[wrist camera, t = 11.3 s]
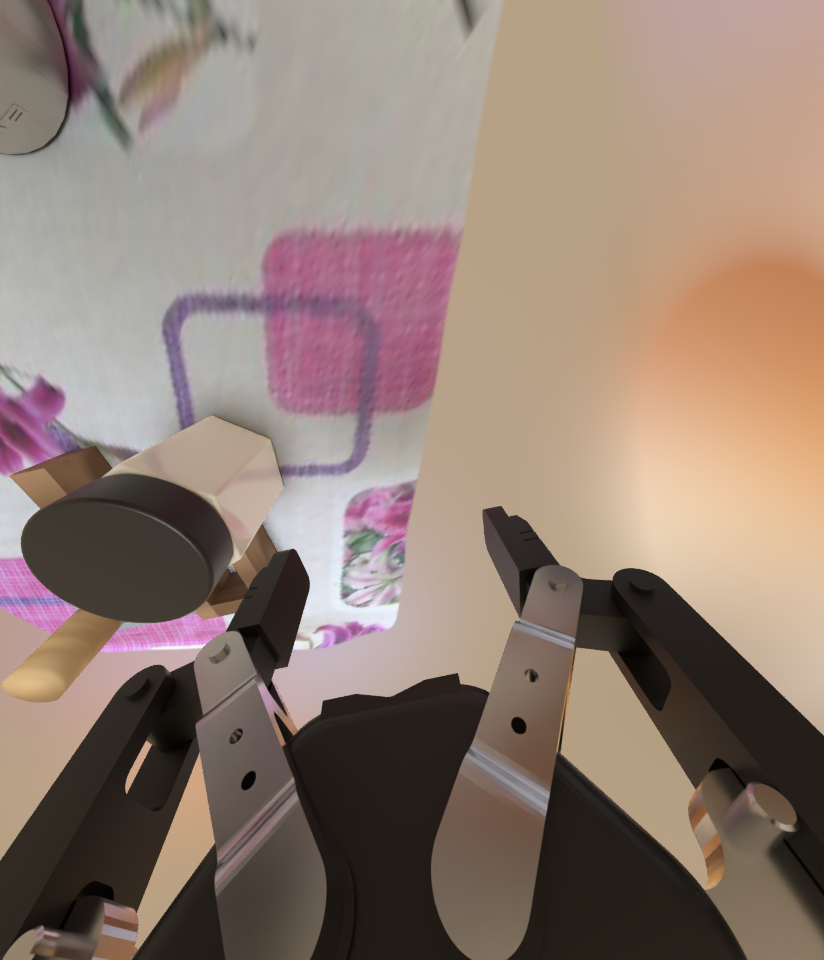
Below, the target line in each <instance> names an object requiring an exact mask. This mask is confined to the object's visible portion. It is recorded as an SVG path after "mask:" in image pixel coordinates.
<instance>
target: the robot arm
mask: <svg viewBox="0 0 824 960" xmlns="http://www.w3.org/2000/svg"><path fill="white" fill-rule="evenodd" d="M67 101H68V69H67V64H66V59H65V54H64V49H63V44H62V39H61V36H60V33H59V31H58V28H57V25H56V22H55V19H54V16H53V13H52V10H51V7H50V5H49V3H48V1H47V0H0V153H4V154H20V153H28V152H31V151H33V150H36V149H38V148H40V147H43V146H44V145H45V144H46V143H47V142H48V141H49V140H50V139H51V138H53V137H54V136H55V135H56V133H57V131H58V129H59V127H60V125H61V123H62V121H63V119H64V116H65V111H66V106H67ZM483 524H484V535H485V542H486V546H487V550H488V552H489V554H490V557H491V559H492V561H493V563H494V565H495V567H496V569H497V571H498V573H499V576H500V578H501V580H502V582H503V584H504V586H505V588H506V590H507V592H508V594H509V596H510V599H511V601H512V603H513V605H514V607H515V609H516V611H517V613H518V616H519V618H520V620H519V622H517V621H516V622H515V623H514V624H513V626H512V629H511V632H510V635H509V638H508V641H507V644H506V646H505V649H504V652H503V656H502V658H501V661H500V664H499V667H498V670H497V673H496V676H495V679H494V682H493V685H492V687H491V690H490V693H489V692H487V691H486V690H483V689H480V688H478V687H474V686H470V685H464V684H460V680H459V676H458V673H456V674H451V675H446V676H441V677H437V678H432V679H427V680H424V681H422V682H420V683H418V684H416V685H414V686H412V687H410V688H408V689H406V690H404V691H402V692H400V693H398V694H396V695H394V696H392V697H382V696H371V695H360V694H354V695H349V696H344V697H340V698H335V699H330V700H324V701H323V704H322V711H321V714H320V715H318V716H317V717H315V718H314V719H312V720H311V721H309V722H308V723H307V724H305V726H303V727H302V728H301V729H300V730H299V731H298V730H297V728H296V727H295V725H294V723H293V721H292V719H291V717H290V715H289V712H288V710H287V708H286V706H285V703H284V701H283V699H282V697H281V695H280V693H279V690H278V688H277V686H276V684H275V682H274V680H273V679H272V676H273V673H274V670H275V669H279V668H284V667H287V666H288V663H289V660H290V656H291V653H292V649H293V646H294V642H295V639H296V635H297V632H298V628H299V625H300V621H301V617H302V614H303V610H304V607H305V603H306V600H307V596H308V593H309V588H310V581H309V576H308V574H307V572H306V570H305V568H304V566H303V564H302V561H301V559H300V557H299V555H298V553H297V551H296V550H295V549H290V550H285V551H281V552H276V553H274V554H273V556H272V558H271V560H270V562H269V564H268V566H267V567H264V568H263V569H262V570H261V571H260V572H259V573H258V574H257V575H256V576H255V577H254V579H253V581H252V582H251V584H250V586H249V588H248V589H249V590H248V591H247V592H246V594H245V596H244V600H242V602H241V604H240V606H239V607H238V609H237V611H236V613H235V615H234V617H233V619H232V621H231V623H230V625H229V627H228V629H227V631H226V632H225V633H222V634H220V635H218V636H217V637H215V638H214V639H212V640H211V641H210V642H208V643H207V644H206V645H205V646H204V647H203V648H202V650H201V651H200V652H199V654H198V655H197V657H196V659H195V661H193V662H191V663H189V664H187V665H185V666H183V667H181V668H178V669H176V670H174V671H172V672H169V671H168V670H167V669H166V668H165V667H164V666H162V665H153V666H150V667H148V668H145V669H143V670H142V671H140V672H138V673H137V674H135V675H134V676H133V677H132V678H130V679H129V680H128V681H127V682H126V683H125V684H123V686H122V687H121V688H120V689H119V690H118V691H117V692H116V694H115V695H114V696H113V698H112V699H111V701H110V703H109V704H108V705H107V707H106V708H105V710H104V711H103V712H102V714H101V715H100V717H99V718H98V720H97V721H96V723H95V724H94V726H93V727H92V728H91V730H90V731H89V733H88V734H87V736H86V737H85V739H84V740H83V741H82V743H81V744H80V746H79V747H78V749H77V750H76V752H75V753H74V755H73V756H72V758H71V759H70V760H69V762H68V763H67V765H66V766H65V768H64V769H63V771H62V772H61V773H60V775H59V777H58V778H57V779H56V781H55V782H54V784H53V785H52V786H51V788H50V790H49V791H48V792H47V794H46V795H45V797H44V798H43V800H42V801H41V802H40V804H39V806H38V807H37V808H36V810H35V811H34V813H33V814H32V816H31V817H30V818H29V820H28V821H27V823H26V824H25V826H24V827H23V829H22V830H21V832H20V833H19V834H18V836H17V837H16V839H15V840H14V842H13V843H12V845H11V846H10V848H9V849H8V850H7V852H6V853H5V855H4V856H3V858H2V859H1V861H0V960H824V736H823V735H822V734H821V733H820V732H819V731H818V730H817V729H816V728H815V727H814V726H813V725H812V724H811V723H810V722H809V721H808V720H807V719H806V718H805V717H804V716H803V715H802V714H801V713H800V712H799V711H798V710H797V709H796V708H795V707H794V706H793V705H792V704H791V703H790V702H788V700H786V699H785V698H784V697H783V696H782V695H781V694H780V693H779V692H778V691H777V690H776V689H775V688H774V687H773V686H772V685H771V684H770V683H769V682H768V681H767V680H766V679H765V678H764V677H763V676H762V675H761V674H760V673H759V672H758V671H757V670H755V669H754V667H752V665H751V664H750V663H748V662H747V661H746V660H745V659H744V658H743V657H742V656H741V655H740V654H739V653H738V652H737V651H736V650H735V649H734V648H733V647H732V646H731V645H730V644H729V643H728V642H727V641H726V640H725V639H724V638H723V637H722V636H721V635H720V634H718V632H717V631H716V630H715V629H714V628H713V627H711V626H710V625H709V624H708V623H707V622H706V621H705V620H704V619H703V618H702V617H701V616H700V615H699V614H698V613H697V612H696V611H695V610H694V609H693V608H692V607H691V606H690V605H689V604H688V603H687V602H686V601H685V600H684V599H683V598H682V597H681V596H680V595H678V593H677V592H676V591H675V590H674V589H673V588H671V587H670V586H669V585H668V584H667V583H666V582H665V581H664V580H663V579H661V578H660V577H658V576H657V575H655V574H653V573H650V572H648V571H645V570H641V569H635V568H634V569H633V568H628V569H622V570H620V571H618V572H616V573H615V574H614V576H613V580H612V581H610V580H593V579H585V578H581V577H579V575H577V573H575V572H574V571H573V570H571V569H569V568H567V567H564V566H560V565H559V563H558V562H557V561H556V559H555V558H554V557H553V555H552V554H551V553H550V551H549V550H548V549H547V547H546V546H545V545H544V543H543V542H542V541H541V539H539V537H538V535H537V534H536V533H535V532H534V531H533V529H532V527H531V526H530V525H529V523H528V522H527V521H525V520H523V519H522V518H520V517H518V516H517V515H515V516H510V517H508V515H507V514H506V513H505V511H504V509H503V508H502V507H501V506H498V507H493V508H488V509H484V510H483ZM576 647H579V648H586V649H595V650H603V651H609V653H610V654H611V656H612V658H613V659H614V661H615V663H616V664H617V665H618V667H619V669H620V670H621V672H622V674H623V675H624V677H625V678H626V680H627V682H628V683H629V685H630V686H631V688H632V689H633V691H634V693H635V694H636V696H637V697H638V699H639V700H640V702H641V704H642V705H643V707H644V708H645V710H646V711H647V713H648V715H649V716H650V718H651V719H652V721H653V723H654V724H655V726H656V727H657V729H658V730H659V732H660V734H661V735H662V737H663V738H664V740H665V741H666V743H667V745H668V746H669V748H670V749H671V751H672V753H673V754H674V756H675V757H676V759H677V761H678V762H679V764H680V765H681V767H682V769H683V770H684V772H685V773H686V775H687V776H688V778H689V779H690V781H691V783H692V784H693V786H694V787H695V789H696V791H695V792H694V794H693V795H692V797H691V799H690V801H689V806H688V814H689V820H690V824H691V827H692V830H693V832H694V834H695V836H696V839H697V841H698V843H699V845H700V847H701V849H702V852H703V855H704V858H705V862H706V867H707V874H708V875H707V876H708V880H707V887H706V890H704V889H703V888H702V887H701V885H700V884H699V883H698V882H697V880H696V879H695V878H694V877H693V876H692V875H691V874H690V872H688V870H687V869H686V868H685V867H684V866H683V865H682V864H681V863H680V862H679V861H678V860H677V859H676V858H675V857H674V856H673V855H672V854H671V853H670V852H669V851H668V850H667V849H666V848H664V847H663V846H662V845H661V844H660V843H659V842H658V841H657V840H656V839H654V838H653V837H652V836H651V835H650V834H649V833H648V832H647V831H646V830H645V829H643V828H642V827H641V826H640V825H639V824H638V823H637V822H636V821H635V820H634V819H632V818H631V817H630V816H629V815H628V814H627V813H626V812H625V811H624V810H622V809H621V808H620V807H619V806H618V805H617V804H616V803H615V802H614V801H612V800H611V799H610V798H609V797H608V796H607V795H606V794H605V793H604V792H603V791H601V790H600V789H599V788H598V787H597V786H596V785H595V784H594V783H593V782H591V781H590V780H589V779H588V778H587V777H586V776H585V775H584V774H583V773H582V772H580V771H579V770H578V769H577V768H576V767H575V766H574V765H573V764H572V763H571V762H569V761H568V760H567V759H566V758H565V757H564V756H563V755H562V754H561V750H562V743H563V736H564V729H565V722H566V715H567V707H568V700H569V693H570V686H571V680H572V673H573V666H574V660H575V653H576ZM145 741H148V742H149V743H150V744H152V746H151V748H150V750H149V752H148V754H147V756H146V758H145V760H144V762H143V763H142V765H141V767H140V769H139V771H138V773H137V775H136V777H135V779H134V781H133V783H132V785H131V787H130V789H129V791H128V793H127V794H126V792H125V783H126V779H127V776H128V774H129V771H130V769H131V768H132V766H133V764H134V762H135V760H136V758H137V756H138V754H139V753H140V751H141V749H142V747H143V745H144V743H145ZM199 752H200V756H201V762H202V768H203V774H204V780H205V785H206V791H207V797H208V803H209V810H210V815H211V821H212V827H213V833H214V839H215V844H214V845H213V847H212V848H211V849H210V851H209V852H208V854H207V855H206V856H205V858H204V859H203V860H202V862H201V863H200V865H199V866H198V868H197V869H196V870H195V872H194V873H193V874H192V876H191V878H190V879H189V880H188V882H187V883H186V884H185V886H184V887H183V888H182V890H181V891H180V893H179V894H178V895H177V897H176V898H175V899H174V901H173V902H172V904H171V905H170V906H169V908H168V909H167V911H166V912H165V913H164V915H163V916H162V918H161V919H160V920H159V922H158V923H157V925H156V926H155V927H154V929H153V930H152V932H151V933H150V935H149V936H148V937H147V939H146V940H145V941H144V943H143V944H142V946H141V947H140V948H139V950H138V949H137V948H136V947H135V943H136V938H137V932H138V917H137V911H138V908H139V905H140V903H141V900H142V898H143V895H144V893H145V890H146V887H147V885H148V882H149V880H150V877H151V875H152V872H153V870H154V867H155V865H156V862H157V859H158V857H159V854H160V852H161V849H162V846H163V844H164V841H165V839H166V836H167V834H168V831H169V829H170V826H171V823H172V821H173V819H174V816H175V813H176V811H177V808H178V806H179V803H180V801H181V798H182V795H183V793H184V790H185V788H186V785H187V783H188V780H189V778H190V775H191V773H192V770H193V767H194V765H195V762H196V760H197V757H198V755H199Z"/></svg>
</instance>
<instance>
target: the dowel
mask: <svg viewBox="0 0 824 960" xmlns="http://www.w3.org/2000/svg"><path fill="white" fill-rule="evenodd" d="M123 623H124V621H118V620H113V619H108V618H105V617H101V616H98V615H95V614H92V613H89V612H87V611H84V610H82V609H78V610H77V611H76V612H75V613H74V614H73V615H72V616H71V617H70V618H69V619H68V620H67V621H66V622H65V623H64V624H63V625H62V626H61V627H60V628H59V629H58V630H57V631H56V632H54V633H53V634H52V635H51V636H50V637H49V638H48V639H47V640H46V641H45V642H44V643H43V644H42V645H41V646H40V647H39V648H38V649H37V650H36V651H35V652H34V653H33V654H32V655H30V656H29V657H28V658H27V659H26V660H25V661H24V662H23V663H22V664H21V665H20V666H19V667H18V668H17V669H16V670H15V671H14V672H13V673H12V674H11V675H10V676H9V677H8V678H7V679H6V680H5V681H4V682H3V683H2V687H3V689H4V690H5V691H6V692H7V693H8V694H10V695H11V696H13V697H16V698H18V699H21V700H25V701H31V702H51V701H54V700H57V699H59V698H60V697H61V696H62V694H63V693H64V692H65V691H66V690H67V689H68V688H69V686H70V685H71V684H72V683H73V682H74V681H75V679H76V678H77V677H78V676H79V675H80V673H81V672H82V671H83V670H84V669H85V668H86V666H87V665H88V664H89V663H90V662H91V660H92V659H93V658H94V657H95V656H96V655H97V653H98V652H99V651H100V650H101V649H102V647H103V646H104V645H105V644H106V643H107V642H108V640H109V639H110V638H111V637H112V636H113V635H114V633H115V632H116V631H117V630H118V629H119V627H120V626H121V625H122V624H123Z"/></svg>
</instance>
